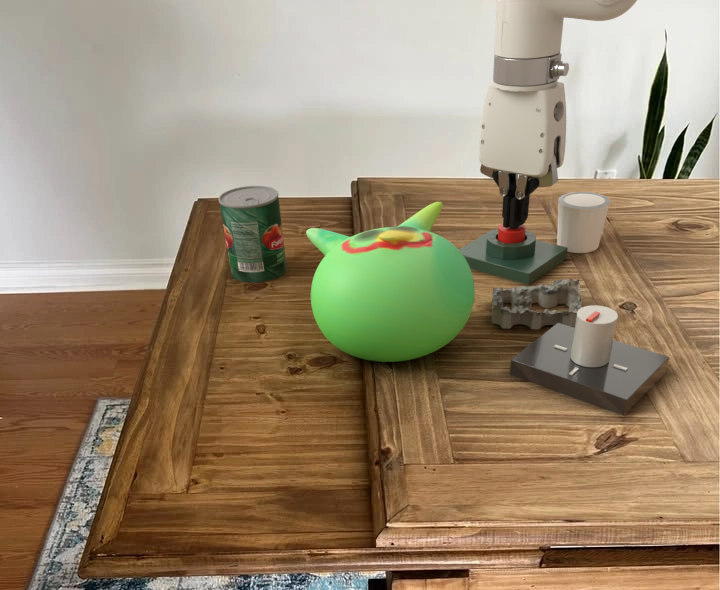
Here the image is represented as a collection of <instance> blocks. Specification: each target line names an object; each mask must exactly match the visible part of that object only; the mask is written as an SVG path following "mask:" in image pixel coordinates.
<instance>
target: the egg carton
mask: <svg viewBox="0 0 720 590" xmlns="http://www.w3.org/2000/svg"><path fill="white" fill-rule="evenodd" d="M491 294H492V300H491V304H492V314H491V323H492V324H496V325H498V326H500V327H501V329H511V328H512V327H513V326H515V325H524V326H527V327H529V328H530V330H541V328H542V327H544V326H554V325H556V324H557V323H561V324H564V325H567V326H570V327H575V322H576V315H577V311H578V310H579V309H580V308H582V307H583V301H582V295H581V283H580V279H578V278H577V279H572V278H566V279H563V278H561V279H557V280H553V282H552V283H551V284H543V283H539V284H538V285H535V286H525V285H521V286H515V287H511V288H503V287H494V286H493V288H492V293H491ZM505 303H509V304H511V308H510V307H509V306H504V304H505ZM533 304H538V305H539V306H540V307H543V308H545V309H543V310H542V311H536V310H535V309H532V305H533ZM558 305H566V306H567V307H568V311H559V310H558V309H553V310H549V308H555V307H557V306H558Z"/></svg>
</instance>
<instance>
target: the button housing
mask: <svg viewBox="0 0 720 590" xmlns="http://www.w3.org/2000/svg"><path fill="white" fill-rule="evenodd" d="M457 249H458V250H459V251H460V252H461V253H462V255H463V256H464V257H465V259H466V261H467V263H468V265H469V267H470V269H471V270H474V271H478V272H482V273H485V274H489V275H491V276H495V277H500V278H503V279H506V280H510V281H514V282H516V283H520V284H524V285H528V286H529V285H531V284H532V283H534V282H535V281H536V280H538V279H539V278H541V277H542V276H544V275H545V274H547V273H548V272H550V271H551V270H552V269H554V268H556V267H557V266H558V265H560V264H561V263H562V262H564V261H565V260H567V257H568V252H567V250H568V248H567V247H563V246H559V245H557V244H554V243H551V242H547V241H544V240H543V241H542V240H538V239H537V235H536V234H535V233H533V232H532V231H530V230H529V229H526V233H525V241H523V242H519V243H504V242H500V241H498V229H492V230H489V231H487V232H486V233H484V234H482V235H481V236H479V237H477V238H476V239H474V240H472V241H470V242H469V243H466V244H465V245H464V246H462V247H460V248H457Z"/></svg>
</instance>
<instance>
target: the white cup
mask: <svg viewBox="0 0 720 590" xmlns="http://www.w3.org/2000/svg"><path fill="white" fill-rule="evenodd" d="M557 199H558V201H557V202H558V203H557V204H558V206H557V229H556V230H557V233H556V234H557V235H556V236H557V237H556V245H559V246H563V247H567V248H568V250H567V253H573V254H586V253H591V252H594V251H597V250H598V248H599V246H600V242H601V239H602V235H603V231H604V227H605V224H606V219H607V217H608V212H609V208H610V205H611V200H610V198H609V197H607V196H606V195H604V194H601V193H598V192H591V191H573V192H567V193H565V194H562V195H560V197H558V198H557Z"/></svg>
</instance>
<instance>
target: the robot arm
mask: <svg viewBox="0 0 720 590" xmlns="http://www.w3.org/2000/svg"><path fill="white" fill-rule="evenodd" d="M637 1H638V0H496V10H495V11H496V12H495V13H496V14H495V29H494V30H495V31H494V53H493V69H492V70H493V74H492V80H491V81H489V83H488V85H487V89H486V93H485V98H484V102H483V108H482V114H481V122H480V130H479V142H478V157H479V163H480V167H479V169H480V170H479V171H480V173H481V174H482V175H484V176H486V177H488V178H490V179H493V181H494V183H495V184H496V186H497V187H498V192H499V194H500V196H501V197H502V209H501V210H502V211H501V217H502V218H503V219H502V224H503V227H505V228H508V227H510V229H516V228H518V227H519V226H521V225H522V224H523V225H525V224H526V221H527V220H528V217H529V208H530V197H531V195H532V194H533V193H534V192H535V191H536V190H537V189H538V188H549V187H550V188H551V187H552V186H554V185H556V184H557V183H558V182H559V175H558V168H561V167H562V166H563V164H564V160H565V153H566V143H567V142H566V141H567V139H566V138H567V100H566V89H565V83H564V82H561V81H558V80H559V79H560V77H566V76H567V75H568V73H569V71H570V64H569V63H568V62H564V61H562V55H563V54H562V53H561V49H562V38H563V30H564V29H563V28H564V21H565V20H564V19H574V20H575V19H576V20H584V21H591V22H592V21H593V22H605V21H610V20H615V19H616V18H619V17H621V16H622V15H624V14H626V13H627V12H628V11H629V10H630V9H631V8H633V6H634V5H635V4H636V2H637Z"/></svg>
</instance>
